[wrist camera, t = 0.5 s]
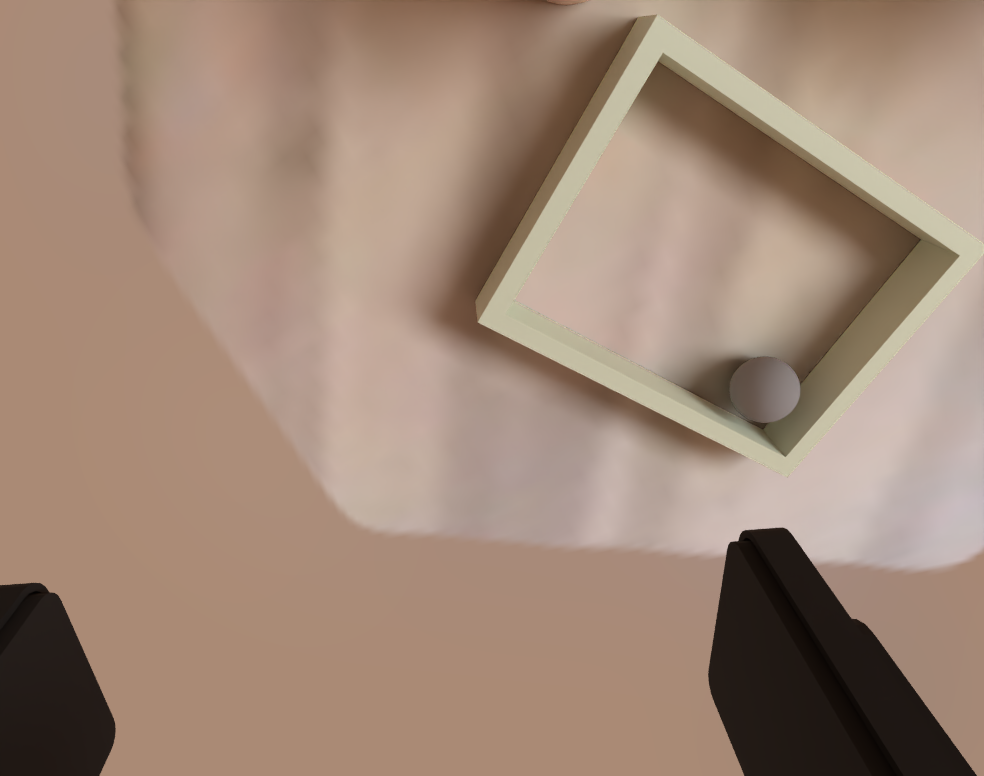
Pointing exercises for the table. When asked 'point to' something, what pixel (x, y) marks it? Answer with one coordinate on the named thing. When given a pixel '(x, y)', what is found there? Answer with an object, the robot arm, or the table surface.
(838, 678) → the robot arm
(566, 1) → the cylinder
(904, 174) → the table surface
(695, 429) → the tray frame
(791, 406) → the mixing ball
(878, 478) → the table surface
